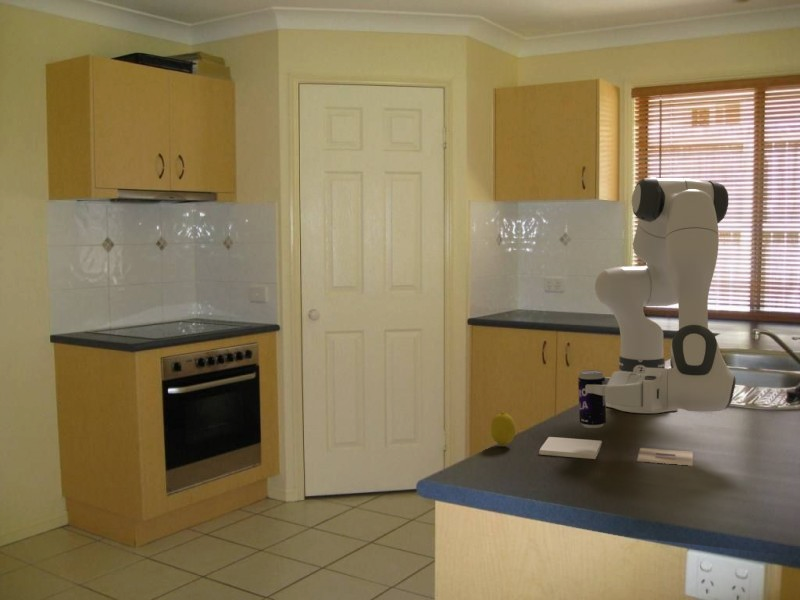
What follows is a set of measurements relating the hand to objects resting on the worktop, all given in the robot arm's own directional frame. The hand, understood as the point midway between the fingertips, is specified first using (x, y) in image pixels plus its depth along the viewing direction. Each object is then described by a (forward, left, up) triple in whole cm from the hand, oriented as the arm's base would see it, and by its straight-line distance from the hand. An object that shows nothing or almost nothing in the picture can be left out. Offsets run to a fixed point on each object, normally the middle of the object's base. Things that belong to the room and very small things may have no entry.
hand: (587, 385), depth 179 cm
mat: (0, -4, -15) cm, 15 cm away
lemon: (+2, -19, -15) cm, 24 cm away
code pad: (0, +16, -15) cm, 22 cm away
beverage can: (0, +1, -9) cm, 9 cm away
